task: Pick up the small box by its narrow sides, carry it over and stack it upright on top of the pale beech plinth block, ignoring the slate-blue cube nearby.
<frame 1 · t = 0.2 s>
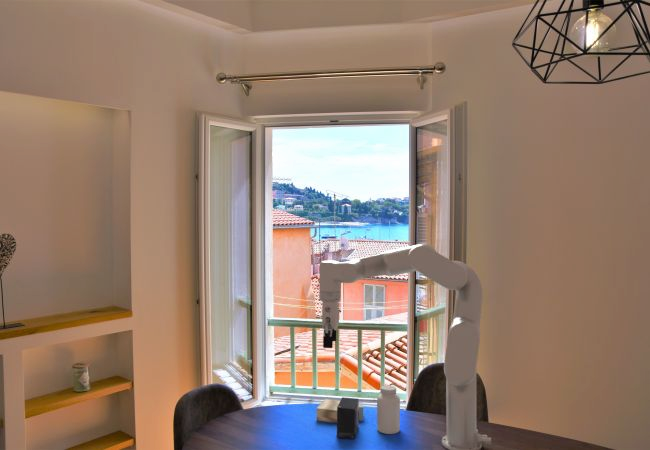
hand: (329, 344, 181), 30 cm above the table, fingers open, 9 cm apart
beech plinth: (333, 416, 192), on the table
slate cube: (356, 418, 191), on the table
small box: (348, 433, 178), on the table
pill bottle: (388, 430, 180), on the table
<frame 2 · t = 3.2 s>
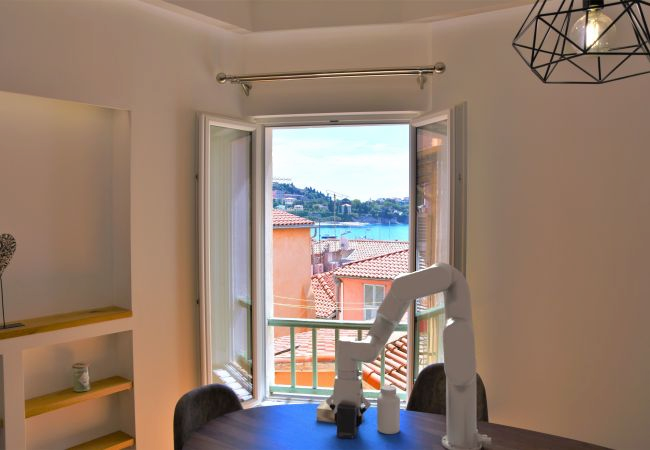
hand: (348, 424, 178), 3 cm above the table, fingers closed on small box, 6 cm apart
small box: (348, 433, 178), on the table, touching gripper
everything else where it was.
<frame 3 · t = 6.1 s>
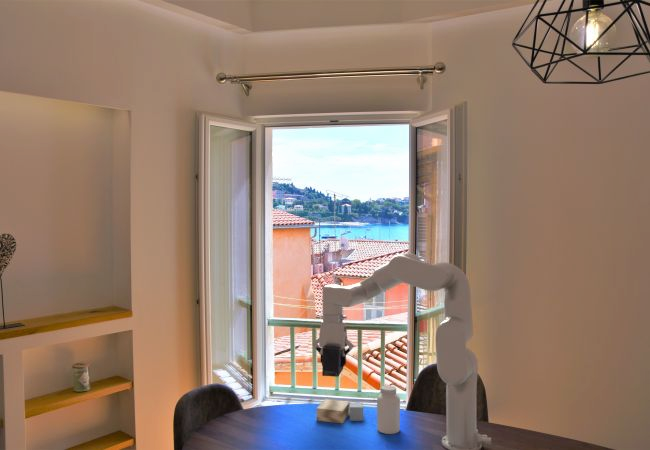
hand: (333, 365, 192), 19 cm above the table, fingers closed on small box, 6 cm apart
small box: (333, 373, 192), point 16 cm above the table, touching gripper
everything else where it was.
when the fingers open (8 cm above the table, at t = 9.1 s): small box stays where it is, resting on beech plinth.
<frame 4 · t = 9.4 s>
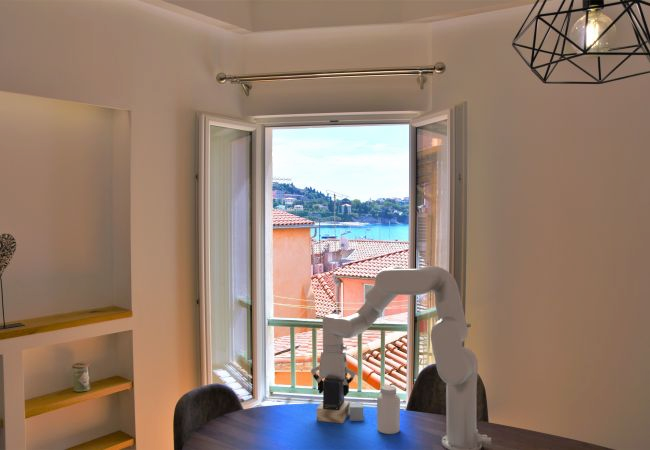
hand: (333, 393, 192), 9 cm above the table, fingers open, 9 cm apart
small box: (334, 405, 192), point 4 cm above the table, touching beech plinth
everything else where it was.
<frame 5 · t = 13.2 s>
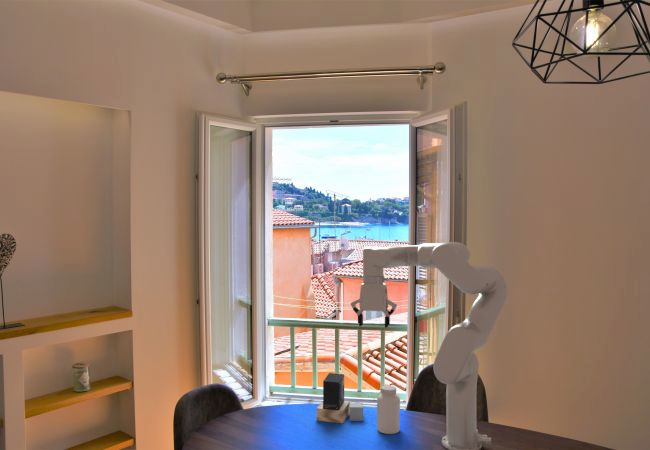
hand: (373, 326, 190), 34 cm above the table, fingers open, 9 cm apart
nothing on the table moved.
at the end: small box inside the target area on the beech plinth (0.3 cm from its centre), point 4.3 cm above the beech plinth's base; small box tilted 0°; the gripper is holding nothing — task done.
